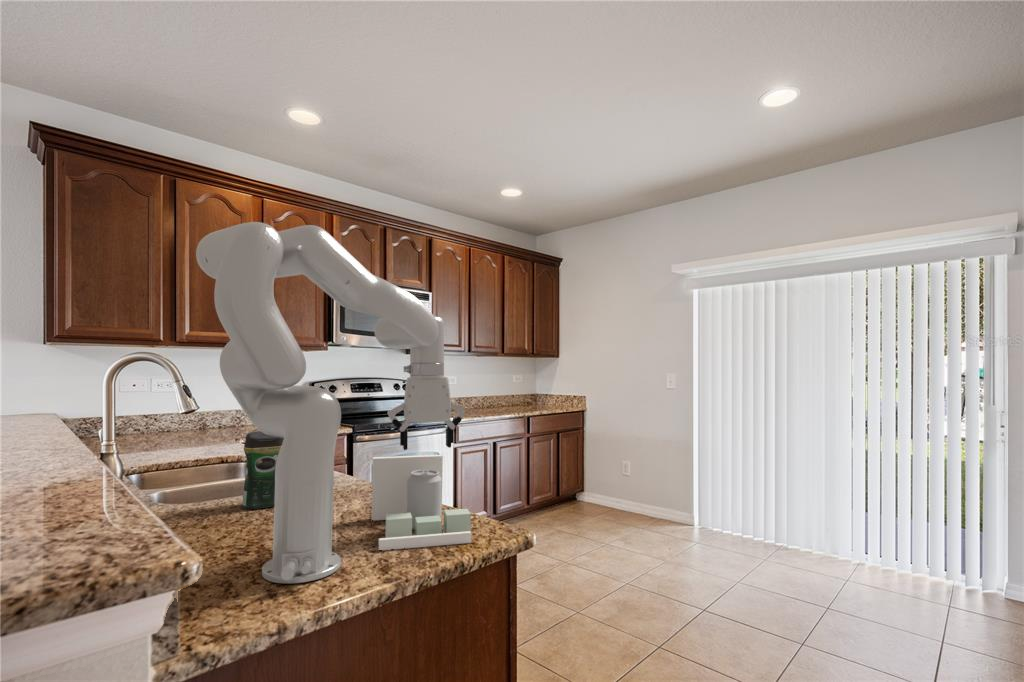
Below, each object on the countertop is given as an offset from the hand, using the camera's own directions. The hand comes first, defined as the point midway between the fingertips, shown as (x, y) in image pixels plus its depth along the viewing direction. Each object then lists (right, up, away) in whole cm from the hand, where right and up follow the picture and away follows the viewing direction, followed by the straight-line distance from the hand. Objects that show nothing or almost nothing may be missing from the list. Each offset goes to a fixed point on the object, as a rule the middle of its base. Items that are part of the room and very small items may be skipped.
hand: (427, 447), depth 115 cm
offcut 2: (+7, -17, -7) cm, 20 cm away
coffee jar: (-44, -18, +14) cm, 49 cm away
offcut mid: (+2, -17, -9) cm, 19 cm away
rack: (-1, -17, -4) cm, 17 cm away
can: (-1, -17, -1) cm, 17 cm away
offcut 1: (-4, -17, -11) cm, 20 cm away
